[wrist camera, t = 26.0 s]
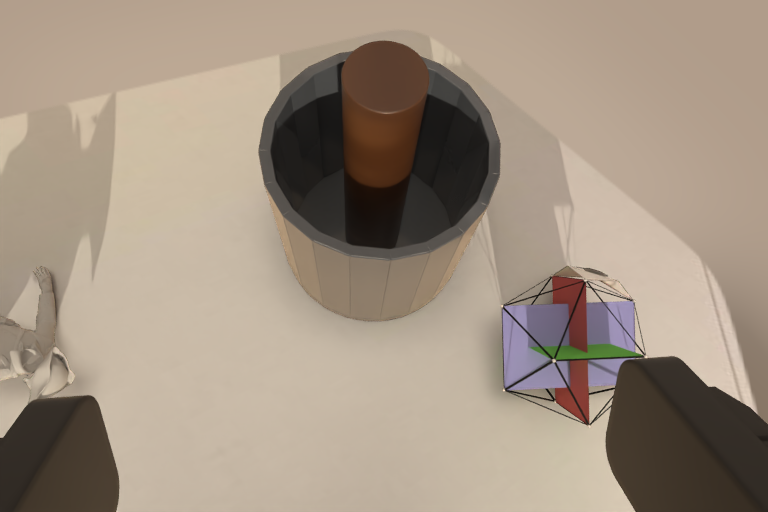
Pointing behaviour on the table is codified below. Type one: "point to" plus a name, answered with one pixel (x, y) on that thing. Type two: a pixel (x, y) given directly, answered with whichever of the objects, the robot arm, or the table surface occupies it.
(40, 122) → the table surface
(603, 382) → the geometric puzzle
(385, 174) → the cylinder
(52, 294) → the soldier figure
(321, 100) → the tin
